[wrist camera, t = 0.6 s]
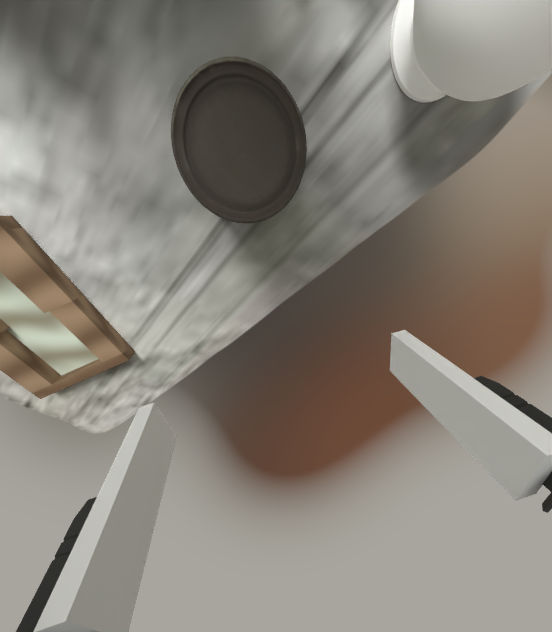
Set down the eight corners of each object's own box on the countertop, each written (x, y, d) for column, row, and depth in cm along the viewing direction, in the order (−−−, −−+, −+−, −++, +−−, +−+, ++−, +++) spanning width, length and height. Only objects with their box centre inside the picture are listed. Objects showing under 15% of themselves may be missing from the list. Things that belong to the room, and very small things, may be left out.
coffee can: (291, 174, 30) (332, 147, 17) (245, 234, 32) (253, 248, 20) (230, 105, 26) (226, 5, 13) (183, 179, 28) (142, 154, 16)
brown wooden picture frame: (-104, 267, 27) (-134, 272, 25) (11, 215, 27) (-9, 216, 24) (51, 387, 38) (40, 399, 35) (134, 351, 37) (128, 360, 35)
